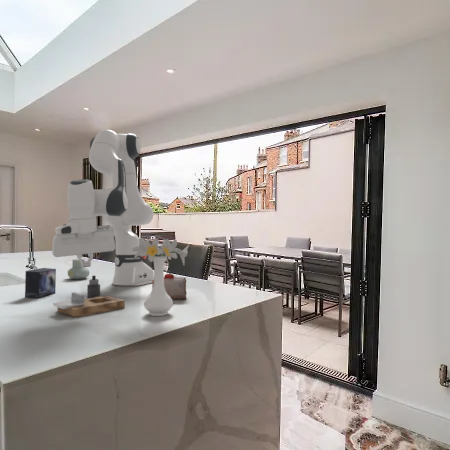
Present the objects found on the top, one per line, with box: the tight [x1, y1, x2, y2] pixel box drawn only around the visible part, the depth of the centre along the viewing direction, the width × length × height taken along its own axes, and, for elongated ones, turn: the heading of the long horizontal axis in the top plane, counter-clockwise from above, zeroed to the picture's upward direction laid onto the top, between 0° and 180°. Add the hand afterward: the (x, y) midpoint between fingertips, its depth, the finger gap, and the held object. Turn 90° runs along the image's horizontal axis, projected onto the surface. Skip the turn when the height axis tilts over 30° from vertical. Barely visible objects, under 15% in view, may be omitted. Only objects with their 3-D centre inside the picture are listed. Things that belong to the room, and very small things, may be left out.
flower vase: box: [132, 237, 190, 317], centre depth 119 cm, size 13×18×25 cm
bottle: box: [86, 275, 101, 299], centre depth 137 cm, size 4×4×10 cm
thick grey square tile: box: [52, 291, 85, 309], centre depth 118 cm, size 7×7×3 cm
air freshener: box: [67, 258, 90, 280], centre depth 188 cm, size 11×8×10 cm
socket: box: [57, 295, 126, 319], centre depth 124 cm, size 18×12×3 cm, turn 138°
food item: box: [151, 272, 188, 301], centre depth 143 cm, size 14×8×10 cm, turn 96°
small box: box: [24, 267, 57, 299], centre depth 146 cm, size 11×6×10 cm, turn 168°
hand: (86, 266), depth 125 cm, fingers closed
